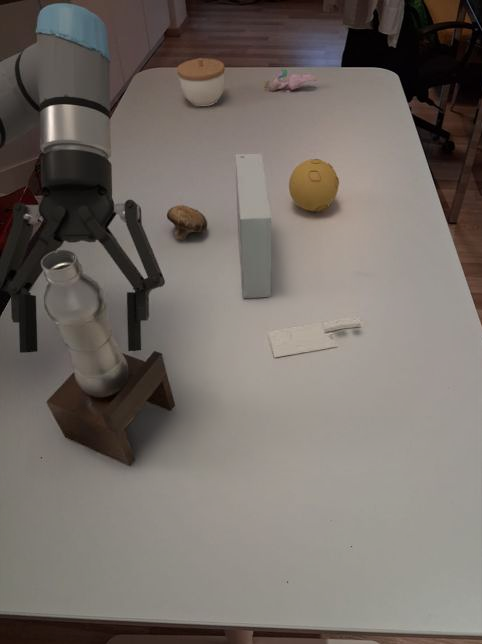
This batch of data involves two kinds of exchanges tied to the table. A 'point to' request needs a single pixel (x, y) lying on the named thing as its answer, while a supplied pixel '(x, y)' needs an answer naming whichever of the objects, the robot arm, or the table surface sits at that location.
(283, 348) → the white meat cleaver
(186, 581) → the table surface
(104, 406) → the shelf
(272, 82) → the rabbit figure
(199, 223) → the mushroom
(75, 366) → the plastic bottle
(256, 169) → the skincare box
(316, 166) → the stress ball
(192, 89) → the lidded bowl
